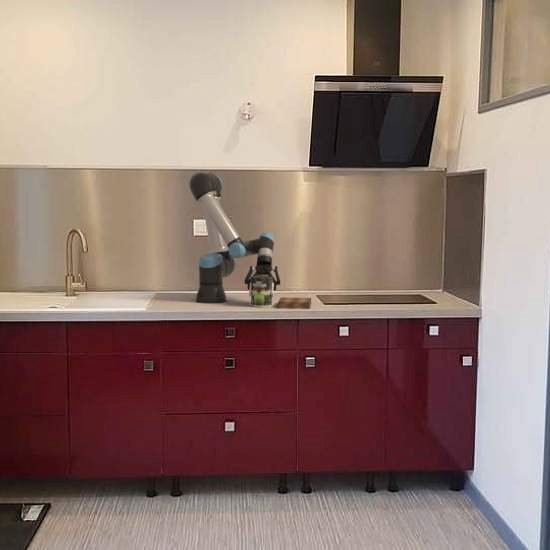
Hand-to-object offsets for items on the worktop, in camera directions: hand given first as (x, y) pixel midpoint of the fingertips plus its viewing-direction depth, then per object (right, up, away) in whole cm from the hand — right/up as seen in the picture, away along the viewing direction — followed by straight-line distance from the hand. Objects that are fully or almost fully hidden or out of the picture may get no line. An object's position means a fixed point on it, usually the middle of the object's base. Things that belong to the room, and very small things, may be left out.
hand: (261, 295), depth 344 cm
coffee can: (0, -5, +3) cm, 6 cm away
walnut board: (+16, -5, +2) cm, 17 cm away
